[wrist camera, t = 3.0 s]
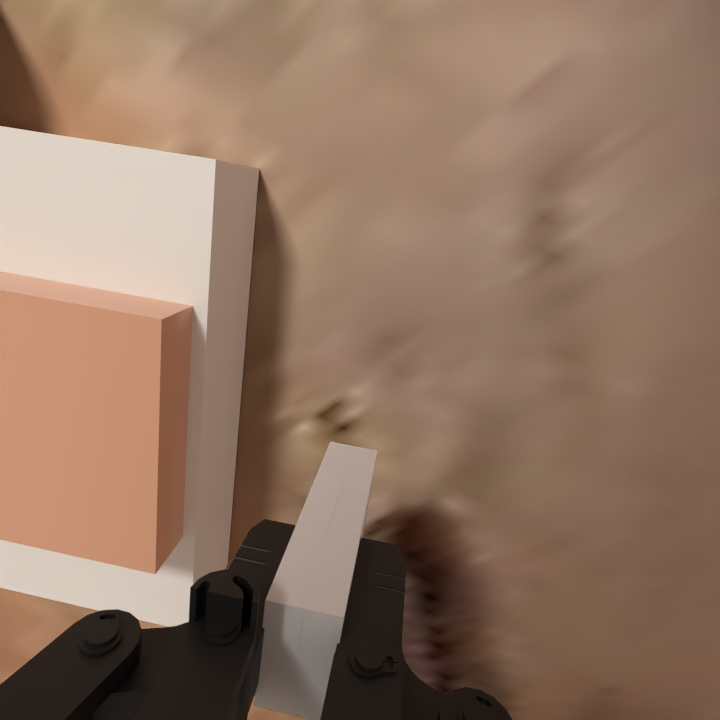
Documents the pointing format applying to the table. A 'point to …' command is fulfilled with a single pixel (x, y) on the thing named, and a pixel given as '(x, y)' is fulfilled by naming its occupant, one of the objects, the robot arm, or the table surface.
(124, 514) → the tile
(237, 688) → the robot arm
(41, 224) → the plate
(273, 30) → the table surface
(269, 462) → the table surface
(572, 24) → the table surface
